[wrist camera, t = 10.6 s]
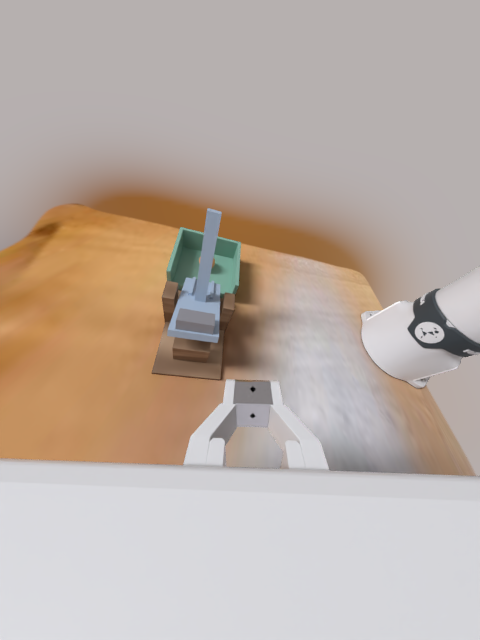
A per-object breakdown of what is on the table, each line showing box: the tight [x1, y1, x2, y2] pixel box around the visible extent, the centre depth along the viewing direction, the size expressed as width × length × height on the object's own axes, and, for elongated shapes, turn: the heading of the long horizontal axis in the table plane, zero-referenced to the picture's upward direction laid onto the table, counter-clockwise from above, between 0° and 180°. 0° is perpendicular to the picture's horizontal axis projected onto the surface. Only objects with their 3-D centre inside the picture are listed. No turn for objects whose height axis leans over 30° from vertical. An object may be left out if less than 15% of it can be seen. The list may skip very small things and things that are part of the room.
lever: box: [167, 208, 221, 343], centre depth 25 cm, size 14×6×13 cm, turn 178°
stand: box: [152, 281, 235, 380], centre depth 30 cm, size 16×10×8 cm, turn 178°
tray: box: [167, 227, 241, 299], centre depth 38 cm, size 12×12×5 cm
